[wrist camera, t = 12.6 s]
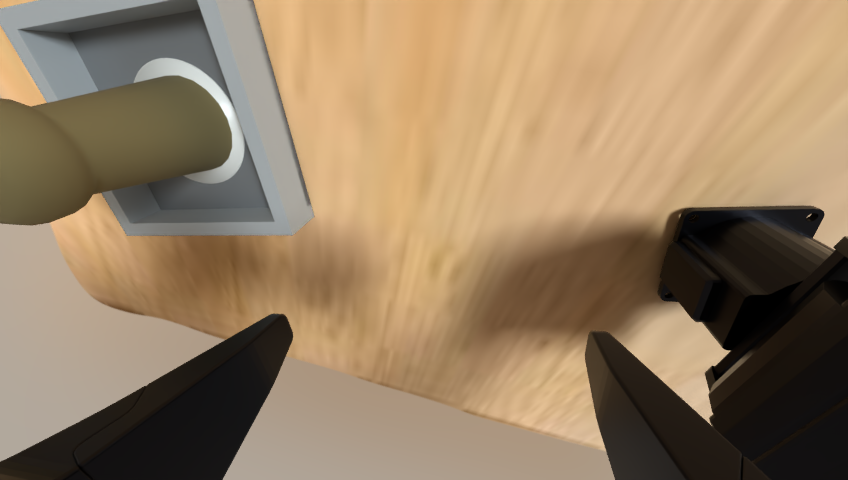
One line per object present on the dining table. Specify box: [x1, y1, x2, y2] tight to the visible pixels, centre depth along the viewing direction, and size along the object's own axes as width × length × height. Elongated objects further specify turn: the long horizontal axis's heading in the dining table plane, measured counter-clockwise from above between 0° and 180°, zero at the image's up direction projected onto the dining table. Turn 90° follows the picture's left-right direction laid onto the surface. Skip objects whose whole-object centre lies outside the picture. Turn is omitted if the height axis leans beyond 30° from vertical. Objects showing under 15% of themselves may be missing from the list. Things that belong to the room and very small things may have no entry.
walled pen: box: [0, 0, 314, 236], centre depth 21 cm, size 14×14×3 cm
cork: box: [0, 75, 232, 225], centre depth 17 cm, size 6×6×11 cm
